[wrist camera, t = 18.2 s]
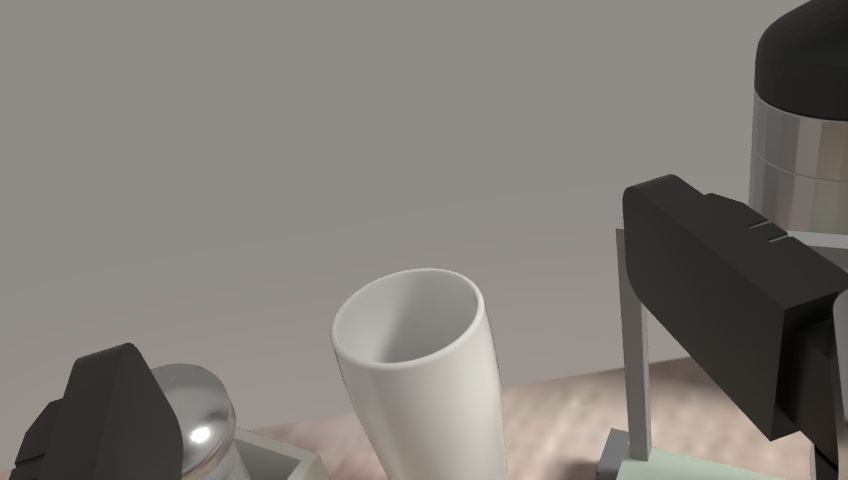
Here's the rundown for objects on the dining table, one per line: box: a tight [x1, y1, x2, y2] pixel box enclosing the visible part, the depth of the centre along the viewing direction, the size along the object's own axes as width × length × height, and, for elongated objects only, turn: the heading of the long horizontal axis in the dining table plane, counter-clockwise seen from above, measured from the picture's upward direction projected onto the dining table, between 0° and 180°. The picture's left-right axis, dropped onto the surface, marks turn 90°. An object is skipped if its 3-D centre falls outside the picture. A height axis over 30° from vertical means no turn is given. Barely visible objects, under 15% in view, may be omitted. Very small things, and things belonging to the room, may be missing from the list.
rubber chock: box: [596, 428, 629, 478], centre depth 35 cm, size 3×2×3 cm, turn 152°
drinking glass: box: [331, 268, 509, 480], centre depth 32 cm, size 7×7×15 cm
